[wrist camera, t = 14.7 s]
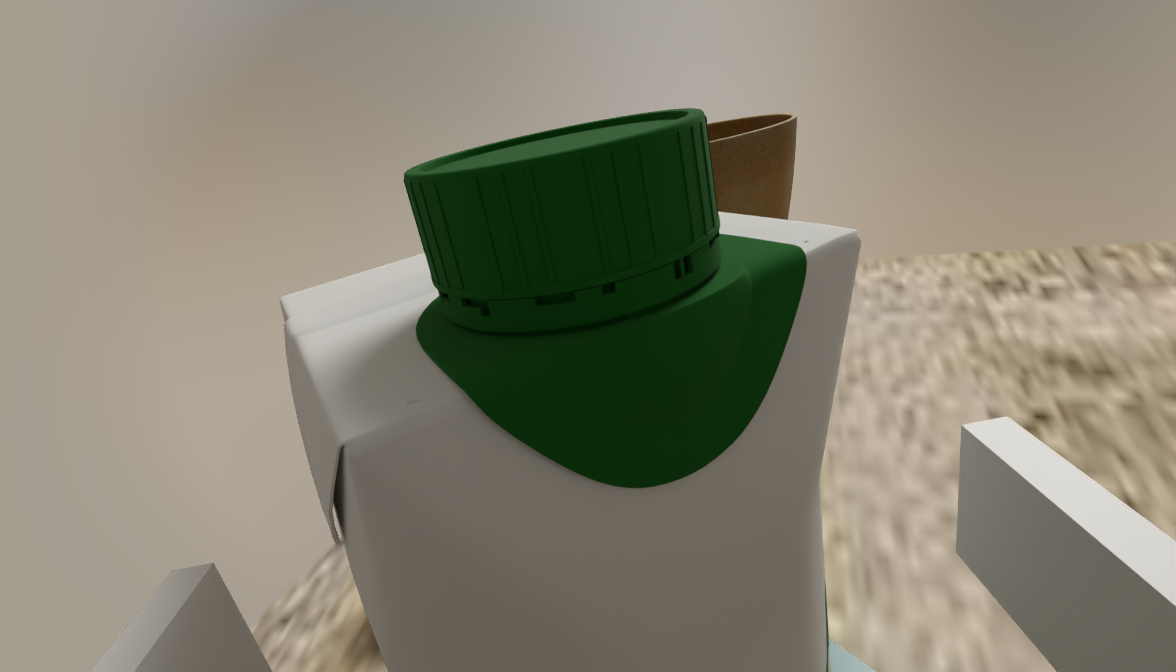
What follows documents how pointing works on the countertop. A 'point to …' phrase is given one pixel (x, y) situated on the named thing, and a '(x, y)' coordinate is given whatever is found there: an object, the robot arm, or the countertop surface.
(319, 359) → the milk carton
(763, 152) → the plant pot
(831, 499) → the countertop surface
